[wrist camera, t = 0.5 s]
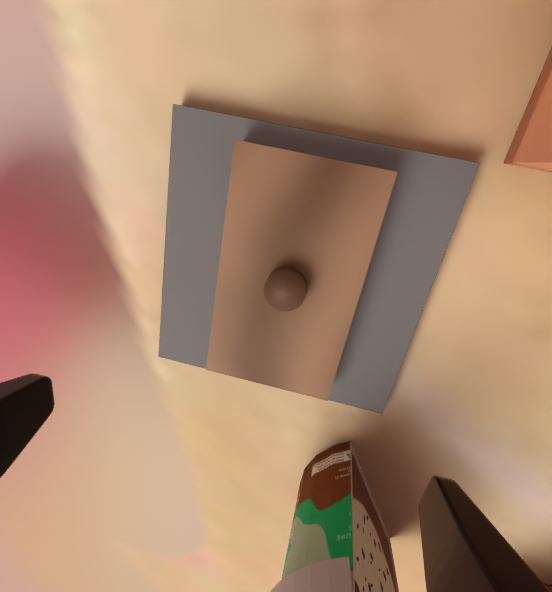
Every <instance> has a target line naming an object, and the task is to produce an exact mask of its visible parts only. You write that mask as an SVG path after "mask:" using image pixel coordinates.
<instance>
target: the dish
mask: <svg viewBox="0 0 552 592" xmlns="http://www.w3.org/2000/svg"><path fill="white" fill-rule="evenodd" d="M504 163H506V164H511V165H517V166H522V167H527V168H532V169H538V170H543V171H548V172H552V48H551V50H550V53H549V55H548V58H547V60H546V62H545V65H544V67H543V70H542V72H541V74H540V77H539V79H538V82H537V84H536V86H535V89H534V91H533V94H532V96H531V98H530V101H529V103H528V106H527V108H526V110H525V113H524V115H523V118H522V120H521V122H520V125H519V127H518V130H517V132H516V134H515V137H514V139H513V142H512V144H511V146H510V149H509V151H508V154H507V156H506V158H505V161H504Z"/></svg>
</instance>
